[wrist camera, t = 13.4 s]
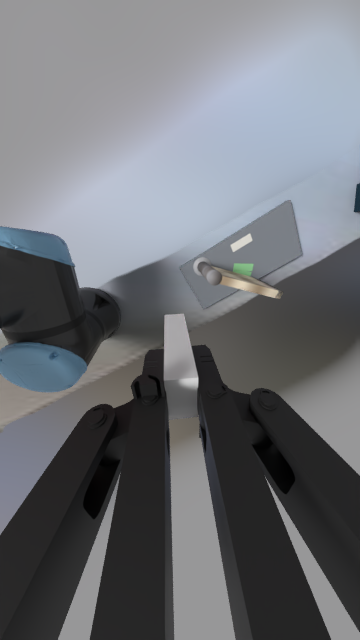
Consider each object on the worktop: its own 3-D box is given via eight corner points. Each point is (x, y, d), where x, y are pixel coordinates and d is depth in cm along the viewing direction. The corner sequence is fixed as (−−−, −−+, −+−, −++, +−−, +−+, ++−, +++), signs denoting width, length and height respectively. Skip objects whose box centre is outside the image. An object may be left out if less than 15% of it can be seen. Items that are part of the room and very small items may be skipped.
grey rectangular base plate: (202, 307, 48) (203, 309, 47) (179, 267, 43) (179, 268, 41) (297, 254, 43) (302, 254, 42) (286, 201, 38) (290, 199, 37)
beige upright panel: (196, 270, 42) (206, 283, 31) (199, 260, 40) (211, 269, 30) (251, 285, 44) (278, 301, 34) (255, 275, 43) (284, 289, 33)
